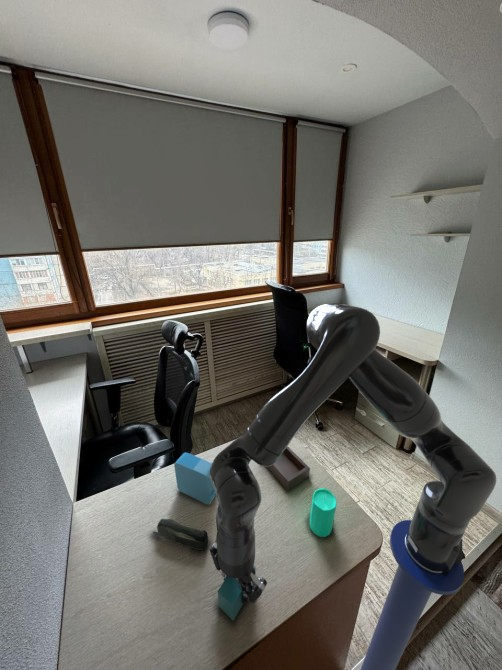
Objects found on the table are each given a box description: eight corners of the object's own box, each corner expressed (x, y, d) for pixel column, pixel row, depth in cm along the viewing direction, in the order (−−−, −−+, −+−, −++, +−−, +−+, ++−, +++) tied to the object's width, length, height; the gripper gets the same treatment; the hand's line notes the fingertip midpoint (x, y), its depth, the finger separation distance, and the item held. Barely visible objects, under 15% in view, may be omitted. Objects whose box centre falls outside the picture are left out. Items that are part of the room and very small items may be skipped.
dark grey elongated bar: (209, 528, 68) (155, 513, 71) (204, 541, 65) (148, 525, 68) (209, 540, 69) (157, 525, 72) (205, 553, 67) (151, 537, 70)
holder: (309, 476, 87) (310, 468, 85) (287, 490, 82) (288, 481, 81) (274, 440, 101) (274, 432, 100) (254, 451, 97) (254, 442, 95)
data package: (218, 493, 81) (216, 464, 77) (210, 506, 78) (208, 476, 73) (186, 478, 86) (183, 450, 81) (177, 490, 82) (173, 461, 78)
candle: (310, 511, 76) (314, 481, 72) (332, 518, 75) (338, 488, 70) (307, 532, 71) (311, 501, 67) (331, 540, 69) (336, 509, 65)
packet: (255, 582, 61) (255, 567, 59) (233, 621, 55) (232, 605, 53) (241, 570, 63) (241, 554, 61) (218, 606, 57) (217, 590, 55)
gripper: (277, 548, 51) (274, 597, 58) (221, 506, 59) (224, 553, 66) (254, 589, 46) (254, 637, 52) (196, 536, 53) (202, 584, 60)
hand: (237, 590), depth 59 cm, fingers closed on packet, 4 cm apart
